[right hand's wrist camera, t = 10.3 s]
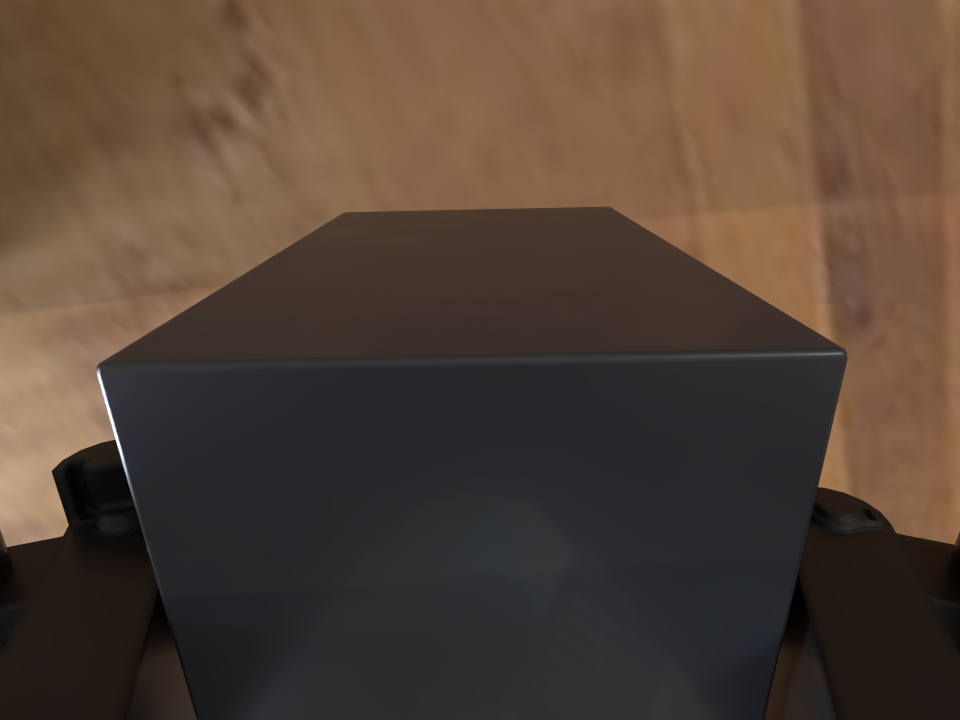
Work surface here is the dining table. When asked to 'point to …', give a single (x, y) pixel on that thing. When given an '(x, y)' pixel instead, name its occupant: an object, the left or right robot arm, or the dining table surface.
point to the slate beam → (476, 474)
